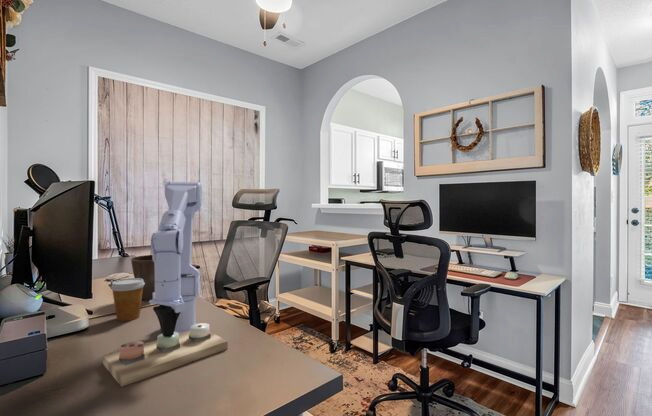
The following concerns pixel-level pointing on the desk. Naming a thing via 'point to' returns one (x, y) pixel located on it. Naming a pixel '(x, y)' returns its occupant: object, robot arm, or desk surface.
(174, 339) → the sage button
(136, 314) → the disposable coffee cup
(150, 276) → the plant pot
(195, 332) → the off-white button
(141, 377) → the button panel
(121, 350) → the terracotta button
